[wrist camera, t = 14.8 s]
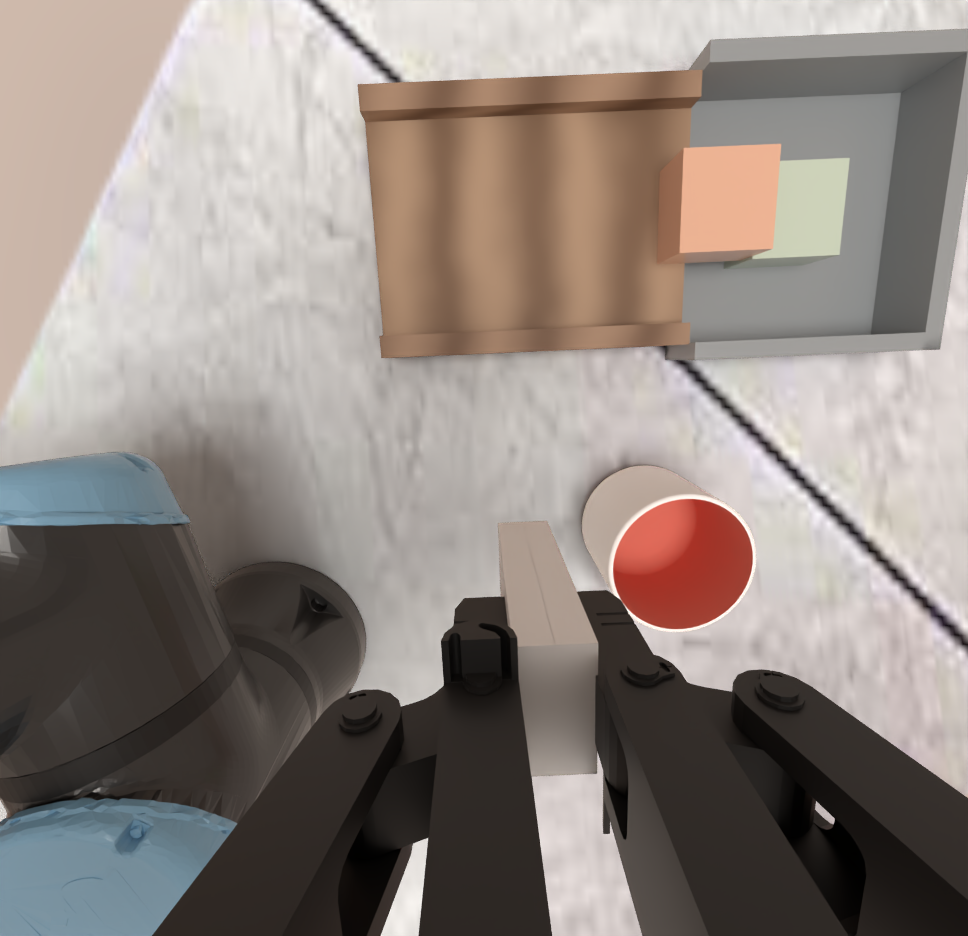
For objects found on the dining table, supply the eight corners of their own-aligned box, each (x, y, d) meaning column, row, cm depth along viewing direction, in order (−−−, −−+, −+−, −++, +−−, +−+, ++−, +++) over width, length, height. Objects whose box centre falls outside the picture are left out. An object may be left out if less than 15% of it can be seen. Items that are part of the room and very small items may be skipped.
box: (665, 359, 40) (694, 360, 34) (675, 87, 35) (710, 39, 30) (877, 350, 40) (939, 349, 34) (913, 77, 36) (990, 27, 30)
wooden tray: (392, 357, 39) (381, 357, 35) (372, 117, 36) (357, 84, 31) (665, 345, 39) (689, 344, 35) (675, 104, 36) (702, 69, 31)
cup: (591, 453, 41) (626, 483, 32) (706, 471, 42) (775, 506, 32) (568, 562, 44) (594, 622, 34) (677, 579, 44) (734, 642, 34)
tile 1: (723, 269, 38) (752, 258, 34) (728, 182, 36) (759, 161, 32) (801, 265, 38) (839, 254, 34) (809, 179, 36) (849, 157, 32)
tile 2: (656, 264, 35) (679, 252, 31) (659, 171, 34) (683, 147, 30) (740, 260, 35) (772, 248, 31) (746, 168, 34) (781, 143, 30)
